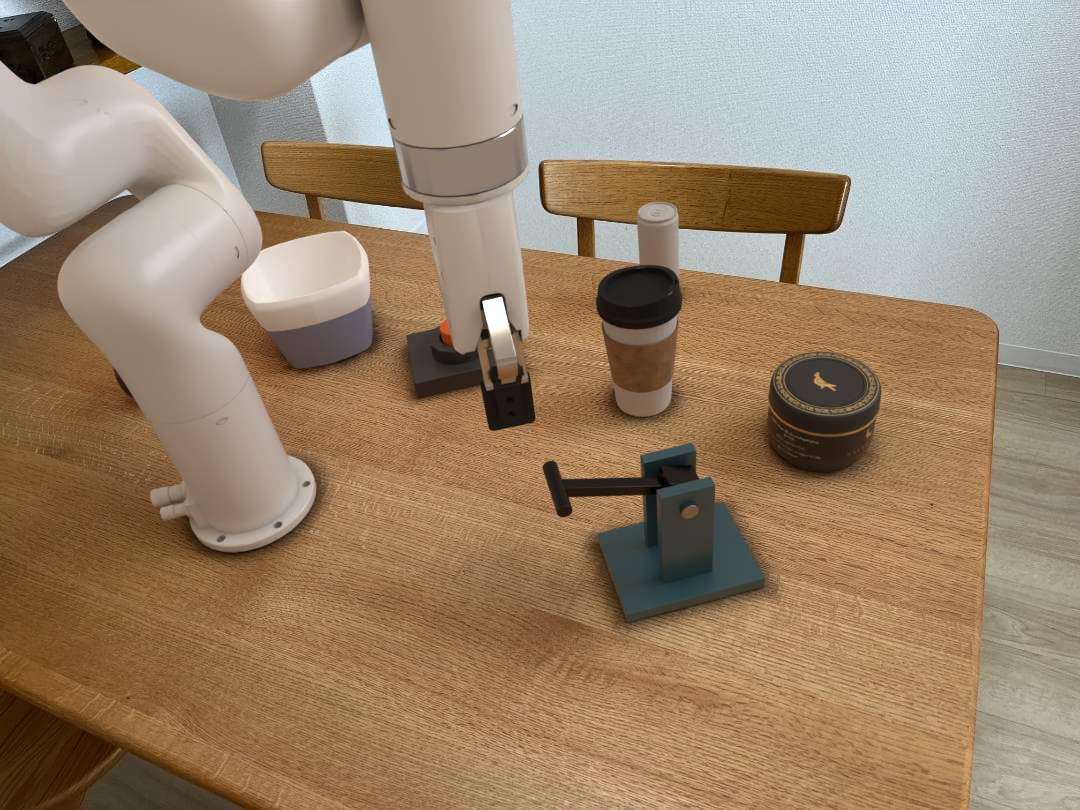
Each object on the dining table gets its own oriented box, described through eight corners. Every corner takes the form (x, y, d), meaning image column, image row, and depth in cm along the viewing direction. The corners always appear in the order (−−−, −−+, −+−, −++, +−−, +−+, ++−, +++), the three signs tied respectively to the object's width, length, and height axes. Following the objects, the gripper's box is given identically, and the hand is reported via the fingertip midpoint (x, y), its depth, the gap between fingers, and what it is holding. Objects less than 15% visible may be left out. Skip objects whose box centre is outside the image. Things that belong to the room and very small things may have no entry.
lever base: (627, 623, 67) (619, 530, 59) (598, 541, 74) (587, 449, 66) (764, 587, 68) (774, 491, 60) (723, 510, 75) (727, 415, 67)
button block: (418, 398, 92) (410, 371, 90) (410, 349, 100) (402, 322, 97) (520, 375, 93) (515, 347, 91) (504, 327, 101) (499, 301, 98)
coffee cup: (680, 427, 84) (678, 307, 74) (599, 423, 86) (587, 305, 76) (685, 375, 90) (685, 258, 80) (610, 373, 92) (600, 258, 82)
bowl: (377, 294, 111) (356, 221, 103) (398, 355, 99) (375, 278, 92) (265, 325, 108) (235, 252, 101) (273, 392, 97) (240, 315, 89)
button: (444, 349, 93) (441, 337, 92) (440, 332, 96) (437, 320, 94) (475, 342, 93) (472, 330, 92) (470, 325, 96) (467, 313, 95)
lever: (554, 523, 60) (560, 500, 59) (539, 477, 64) (545, 454, 62) (699, 518, 63) (709, 496, 62) (678, 474, 67) (686, 453, 66)
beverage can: (684, 289, 103) (683, 203, 95) (672, 310, 99) (670, 223, 92) (647, 284, 104) (644, 199, 97) (635, 304, 101) (630, 218, 94)
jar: (839, 493, 74) (851, 433, 69) (745, 449, 80) (749, 390, 75) (889, 432, 80) (902, 372, 75) (796, 395, 85) (803, 336, 80)
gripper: (387, 109, 53) (435, 323, 64) (410, 235, 40) (464, 475, 51) (500, 89, 53) (527, 304, 65) (558, 207, 40) (580, 450, 52)
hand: (499, 379), depth 58 cm, fingers open, 9 cm apart
